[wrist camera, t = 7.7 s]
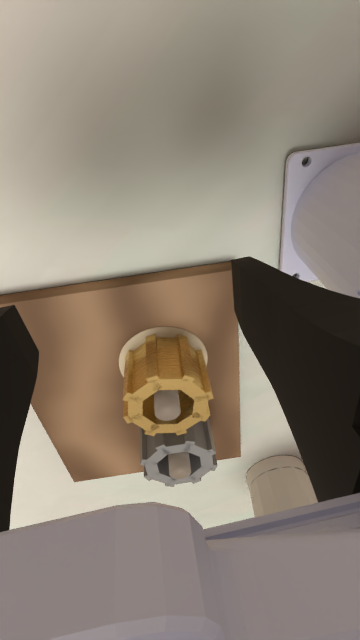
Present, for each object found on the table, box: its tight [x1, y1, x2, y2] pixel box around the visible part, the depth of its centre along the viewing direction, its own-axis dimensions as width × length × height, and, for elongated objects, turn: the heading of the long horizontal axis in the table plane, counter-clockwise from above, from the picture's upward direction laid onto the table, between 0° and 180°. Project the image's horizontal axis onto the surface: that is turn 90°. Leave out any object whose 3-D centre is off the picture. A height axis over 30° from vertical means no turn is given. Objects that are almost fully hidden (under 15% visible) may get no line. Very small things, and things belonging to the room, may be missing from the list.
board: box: [0, 261, 241, 482], centre depth 25 cm, size 16×20×6 cm
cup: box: [246, 455, 318, 517], centre depth 32 cm, size 8×8×12 cm
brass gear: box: [123, 334, 214, 436], centre depth 23 cm, size 6×6×4 cm
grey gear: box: [140, 418, 217, 487], centre depth 27 cm, size 6×6×4 cm
